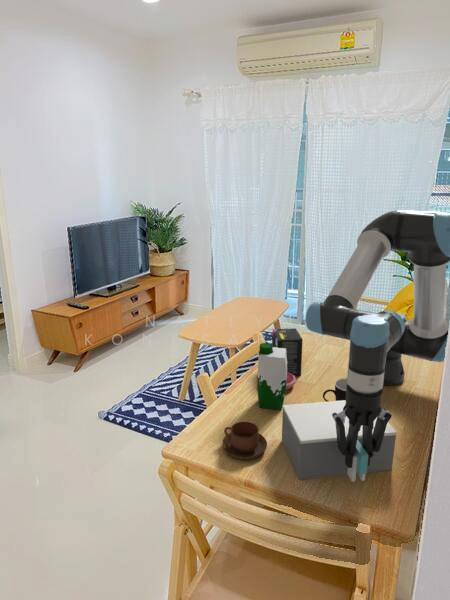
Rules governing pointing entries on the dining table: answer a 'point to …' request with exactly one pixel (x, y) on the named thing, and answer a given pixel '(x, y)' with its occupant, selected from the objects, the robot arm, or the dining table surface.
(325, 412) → the carton lid
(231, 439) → the cup and saucer
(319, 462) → the carton
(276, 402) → the milk carton
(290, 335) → the tampon box
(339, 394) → the coffee mug
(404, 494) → the dining table surface
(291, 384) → the saucer
